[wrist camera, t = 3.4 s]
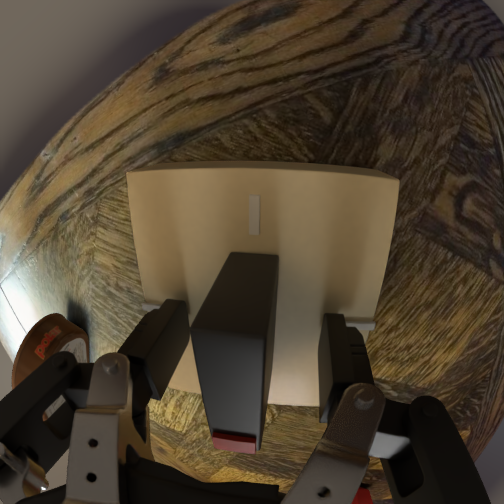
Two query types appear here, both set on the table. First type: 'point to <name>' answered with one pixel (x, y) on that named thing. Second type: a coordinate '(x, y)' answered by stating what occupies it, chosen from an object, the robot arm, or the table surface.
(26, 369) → the tin
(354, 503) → the apple
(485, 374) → the table surface
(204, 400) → the red tipped black brick
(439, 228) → the table surface
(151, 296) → the panel
